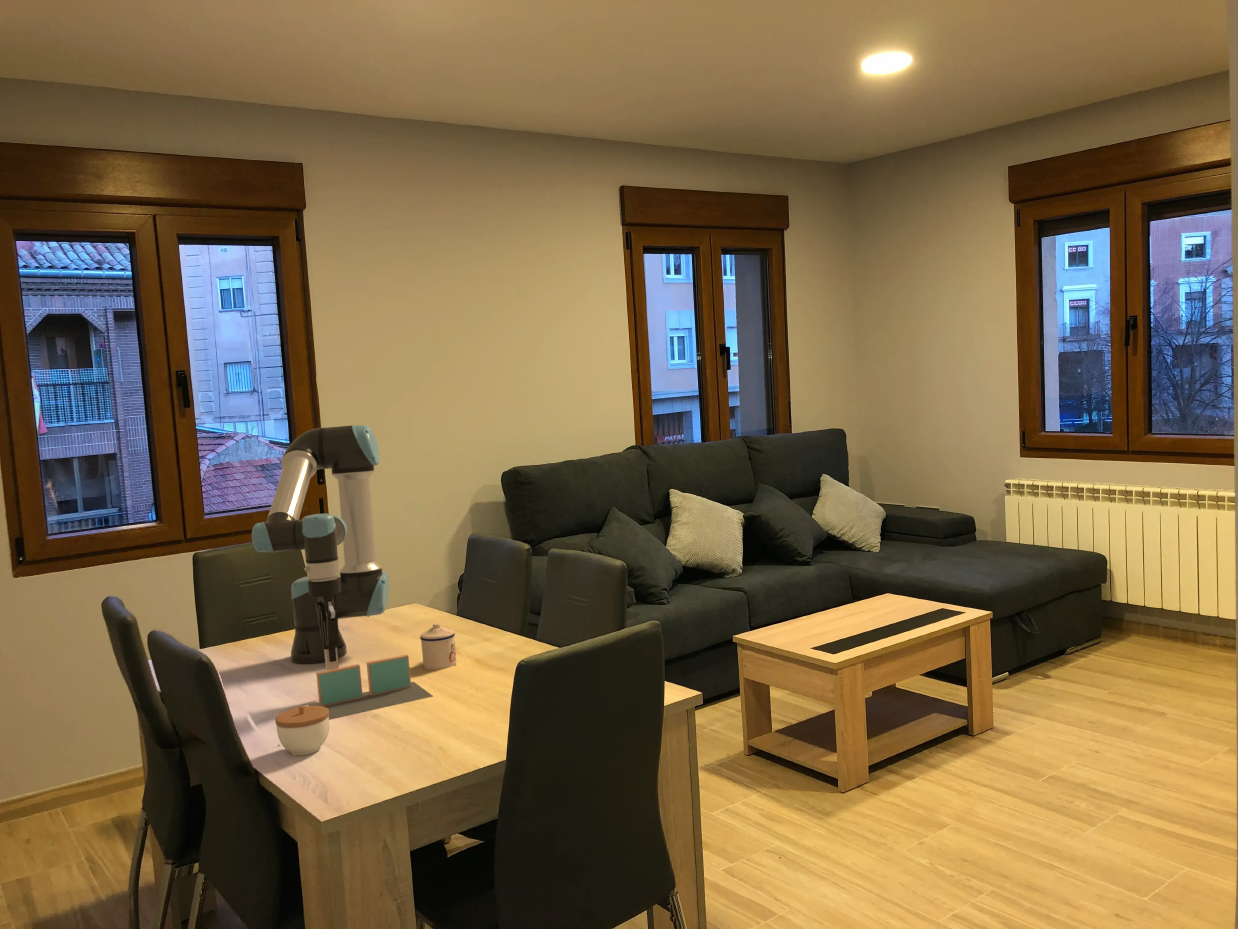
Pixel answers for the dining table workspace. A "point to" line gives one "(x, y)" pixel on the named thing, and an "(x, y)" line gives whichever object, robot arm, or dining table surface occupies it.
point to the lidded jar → (303, 729)
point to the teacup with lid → (438, 648)
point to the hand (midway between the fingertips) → (332, 673)
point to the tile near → (339, 685)
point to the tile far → (388, 675)
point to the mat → (376, 701)
